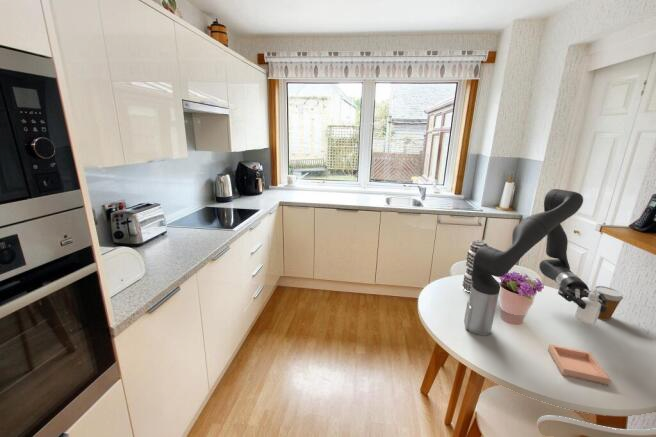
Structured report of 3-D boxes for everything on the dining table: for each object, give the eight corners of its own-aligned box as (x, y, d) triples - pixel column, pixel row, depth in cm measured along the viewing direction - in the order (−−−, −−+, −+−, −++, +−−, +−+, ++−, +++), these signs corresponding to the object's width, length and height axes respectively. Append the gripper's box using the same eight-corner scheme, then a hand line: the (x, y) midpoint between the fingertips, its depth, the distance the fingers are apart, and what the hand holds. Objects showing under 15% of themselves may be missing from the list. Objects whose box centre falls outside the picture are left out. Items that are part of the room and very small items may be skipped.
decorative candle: (481, 296, 138) (491, 247, 131) (459, 291, 142) (468, 242, 136) (482, 288, 145) (492, 241, 138) (462, 283, 150) (470, 237, 143)
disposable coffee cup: (620, 320, 123) (629, 295, 120) (605, 324, 120) (614, 298, 117) (594, 308, 132) (602, 284, 128) (580, 311, 129) (587, 286, 126)
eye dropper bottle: (585, 325, 101) (596, 294, 97) (572, 315, 106) (582, 285, 103) (598, 325, 101) (609, 294, 97) (584, 315, 106) (594, 286, 103)
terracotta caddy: (561, 375, 93) (563, 368, 93) (547, 350, 104) (549, 344, 104) (608, 385, 90) (610, 379, 89) (588, 358, 101) (590, 352, 100)
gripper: (552, 272, 116) (571, 294, 100) (596, 279, 112) (624, 302, 96) (547, 289, 118) (566, 313, 102) (590, 296, 114) (616, 322, 98)
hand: (594, 308), depth 99 cm, fingers closed on eye dropper bottle, 5 cm apart
